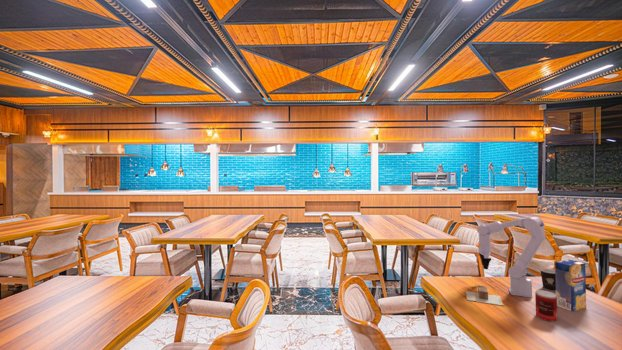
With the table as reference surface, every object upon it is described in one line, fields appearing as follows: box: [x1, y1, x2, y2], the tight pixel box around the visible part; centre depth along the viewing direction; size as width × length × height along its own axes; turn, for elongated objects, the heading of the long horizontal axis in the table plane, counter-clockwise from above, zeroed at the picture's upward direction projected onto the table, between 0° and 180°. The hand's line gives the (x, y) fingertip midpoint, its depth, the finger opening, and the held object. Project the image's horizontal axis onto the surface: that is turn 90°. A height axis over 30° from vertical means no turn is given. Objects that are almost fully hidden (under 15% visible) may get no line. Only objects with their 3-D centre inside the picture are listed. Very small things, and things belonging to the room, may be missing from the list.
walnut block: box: [477, 284, 489, 300], centre depth 153 cm, size 4×4×9 cm
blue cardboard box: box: [554, 258, 587, 312], centre depth 140 cm, size 7×11×22 cm, turn 109°
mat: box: [465, 290, 504, 307], centre depth 151 cm, size 16×12×1 cm
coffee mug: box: [539, 268, 556, 292], centre depth 161 cm, size 12×9×10 cm
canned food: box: [534, 289, 558, 322], centre depth 130 cm, size 8×8×11 cm
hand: (485, 267), depth 170 cm, fingers open, 7 cm apart
